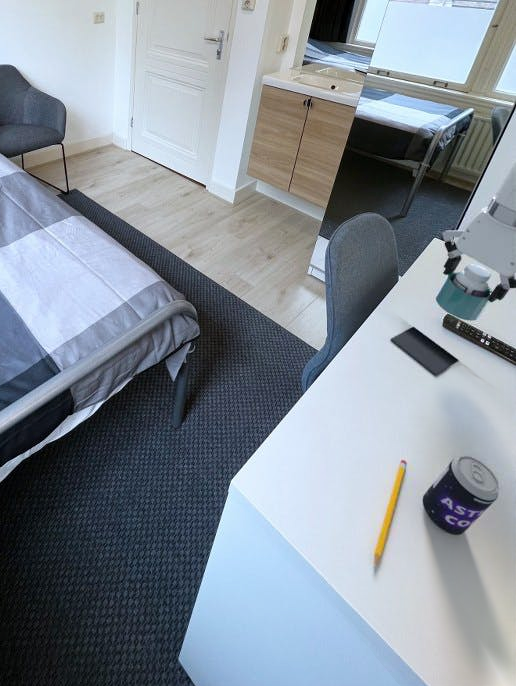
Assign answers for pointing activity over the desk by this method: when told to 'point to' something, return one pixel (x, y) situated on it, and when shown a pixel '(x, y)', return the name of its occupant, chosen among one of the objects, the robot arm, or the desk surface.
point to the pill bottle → (473, 280)
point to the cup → (461, 300)
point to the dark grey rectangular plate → (424, 350)
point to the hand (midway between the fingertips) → (469, 285)
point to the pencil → (389, 513)
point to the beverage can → (460, 494)
